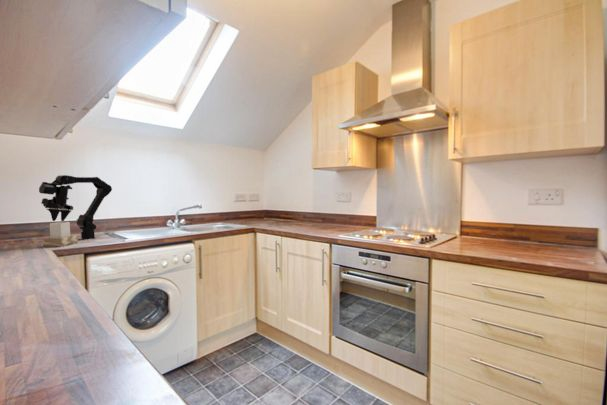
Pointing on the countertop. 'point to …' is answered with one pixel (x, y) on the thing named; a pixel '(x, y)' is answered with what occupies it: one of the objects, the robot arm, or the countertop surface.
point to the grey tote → (59, 230)
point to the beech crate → (60, 241)
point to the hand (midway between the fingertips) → (58, 221)
